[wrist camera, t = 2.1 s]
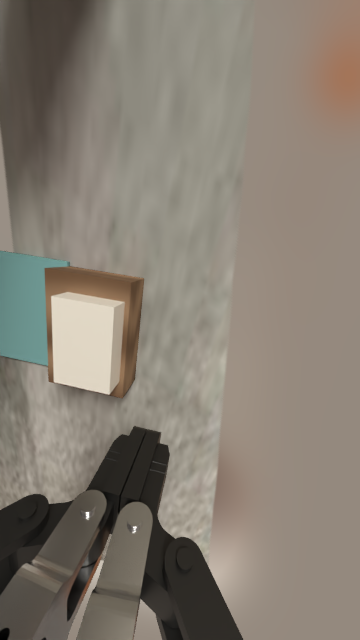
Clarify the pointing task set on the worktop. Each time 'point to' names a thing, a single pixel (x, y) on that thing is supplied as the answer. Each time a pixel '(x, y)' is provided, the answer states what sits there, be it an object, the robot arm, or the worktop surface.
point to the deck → (107, 288)
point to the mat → (24, 306)
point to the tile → (87, 341)
